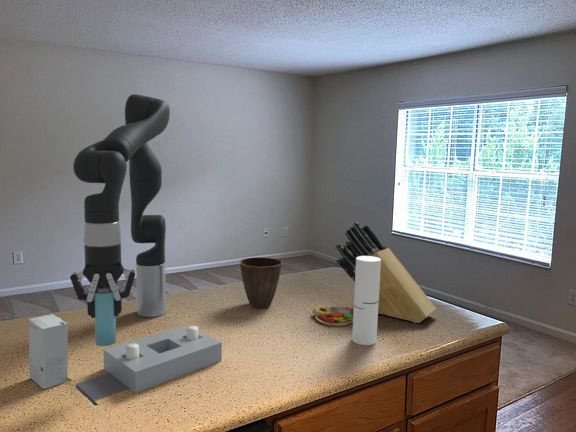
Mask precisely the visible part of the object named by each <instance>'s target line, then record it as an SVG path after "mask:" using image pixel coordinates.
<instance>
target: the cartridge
mask: <svg viewBox="0 0 576 432" xmlns="http://www.w3.org/2000/svg"><path fill="white" fill-rule="evenodd" d="M114 301H115V297H114V294H113V292H112V290H111V287H104V286H103V287H99V288H96V291H95V293H94V313H95V318H94V341H95V346H98V347H108V346H113V345H115V344H116V342H117V323H116V322H117V321H116V317H117V316H115V307H114Z"/></svg>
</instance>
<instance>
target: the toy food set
mask: <svg viewBox="0 0 576 432" xmlns="http://www.w3.org/2000/svg"><path fill="white" fill-rule="evenodd" d="M312 314H314V318H315V319H316V320H317V322H318V323H320V324H322V325H325V326H331V327H344V326H347V325H350V324H351V323H353V311H352V310H351V309H349V308H339V307H337V306H335V307H330V308H329V307H327V306H324V305H317V306H315V307H313V309H312Z"/></svg>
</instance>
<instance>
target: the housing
mask: <svg viewBox="0 0 576 432" xmlns="http://www.w3.org/2000/svg"><path fill="white" fill-rule="evenodd" d="M189 326H190V325H186V324H185V325H183V326H179V327H176V328H172V329H168V330H166V331H163V332H159V333H154V334H151V335H148V336H146V337H141V338H139V339H134V340H131V341H127V342H124V343H121V344H117V345H114V346H113V345H112V346H110V347H107V348H104V349H103V369H104V370H105V371H106V372H107V373H110V374H112V375H113V376H114V377H116V378H117V379H118V380H119V381H121V382H122V383H123V384H125V385H126V386H127V387H129V390H131V391H132V392H133V393H135V394H138V393H140V392H143V391H145V390H149V389H151V388H154V387H157V386H158V385H162V384H164V383H166V382H169V381H172V380H175V379H177V378H180V377H182V376H185V375H188V374H191V373H193V372H196V371H199V370H201V369H204V368H206V367H209V366H212V365H215V364H217V363H220V362H222V360H223V359H222V356H223V355H222V352H223V351H222V349H223V348H222V345H223V342H221V341H220V340H217V339H216V338H214V337H212V336H210V335H207V334H205V333H203V332H201V331H200V330H198V339H196V340H193V341H189V340H187V327H189ZM133 343H135V344H138V345H139V358H137V359H134V360H130V361H128V360H126V345H128V344H133Z"/></svg>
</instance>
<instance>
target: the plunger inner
mask: <svg viewBox="0 0 576 432" xmlns="http://www.w3.org/2000/svg"><path fill="white" fill-rule="evenodd" d="M188 326H189V327H187V340H189V341H193V340H196V339H198V331H199V327H198V326H196V325H188Z"/></svg>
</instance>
